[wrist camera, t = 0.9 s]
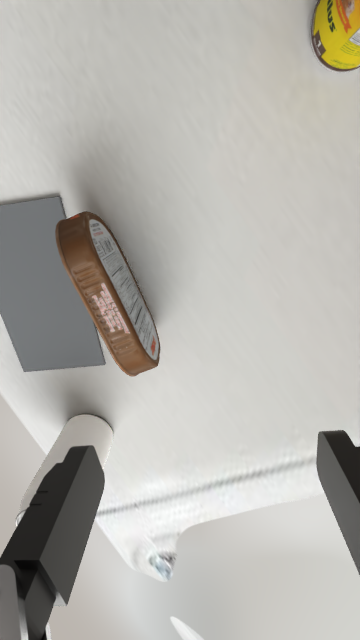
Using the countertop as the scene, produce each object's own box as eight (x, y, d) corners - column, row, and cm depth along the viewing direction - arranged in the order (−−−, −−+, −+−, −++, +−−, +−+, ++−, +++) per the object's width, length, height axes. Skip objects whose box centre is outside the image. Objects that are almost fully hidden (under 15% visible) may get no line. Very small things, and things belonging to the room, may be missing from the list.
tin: (78, 218, 27) (30, 225, 19) (107, 205, 26) (70, 207, 19) (143, 349, 32) (126, 397, 24) (169, 341, 32) (160, 386, 24)
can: (93, 457, 39) (52, 557, 28) (56, 429, 38) (-3, 524, 27) (124, 434, 37) (93, 532, 26) (87, 403, 36) (37, 495, 25)
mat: (-39, 211, 27) (-41, 211, 27) (60, 196, 26) (58, 196, 26) (25, 370, 34) (23, 371, 34) (105, 363, 33) (104, 364, 33)
